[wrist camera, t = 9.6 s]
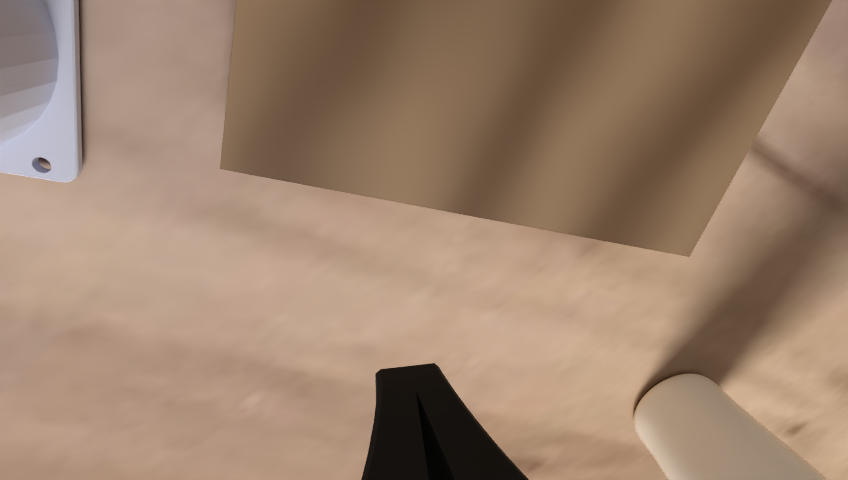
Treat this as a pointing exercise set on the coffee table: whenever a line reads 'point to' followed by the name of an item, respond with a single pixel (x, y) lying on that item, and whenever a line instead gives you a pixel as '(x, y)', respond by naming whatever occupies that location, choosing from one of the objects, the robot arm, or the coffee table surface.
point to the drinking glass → (711, 435)
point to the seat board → (515, 105)
